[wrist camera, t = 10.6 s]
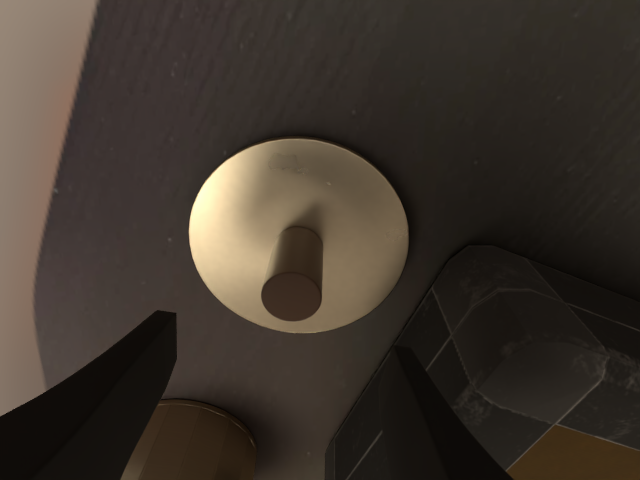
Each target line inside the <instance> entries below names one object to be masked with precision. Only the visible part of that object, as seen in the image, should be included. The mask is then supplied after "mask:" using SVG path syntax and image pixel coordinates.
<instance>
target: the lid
mask: <svg viewBox="0 0 640 480" xmlns="http://www.w3.org/2000/svg"><path fill="white" fill-rule="evenodd" d="M189 244H190V249H191V254H192V258H193V260H194V263H195V266H196V269H197V270H198V272H199V274H200V276H201V278H202V280H203V281H204V283H205V284H206V286H207V287H208V288H209V290H210V291H211V292H212V293H213V294H214V295H215V297H216V298H217V299H218V300H219V301H221V302H222V303H223V304H224V305H225V306H226V307H227V308H229V309H230V310H232V311H233V312H234V313H236V314H237V315H239V316H241V317H243V318H244V319H246V320H248V321H250V322H253V323H255V324H257V325H260V326H263V327H266V328H269V329H273V330H278V331H283V332H291V333H315V332H323V331H328V330H333V329H336V328H339V327H342V326H345V325H348V324H350V323H352V322H355V321H357V320H359V319H360V318H362V317H364V316H365V315H367V314H369V313H370V312H371V311H372V310H374V309H375V308H376V307H378V306H379V305H380V304H381V303H382V302H383V301H384V300H385V299H386V298H387V297H388V295H389V294H390V293H391V291H392V290H393V289H394V287H395V286H396V284H397V282H398V280H399V279H400V277H401V275H402V272H403V269H404V267H405V264H406V260H407V256H408V249H409V228H408V223H407V218H406V214H405V211H404V208H403V206H402V203H401V201H400V198H399V196H398V195H397V193H396V191H395V189H394V187H393V186H392V184H391V183H390V182H389V180H388V179H387V178H386V177H385V175H384V174H383V173H382V172H381V171H380V170H379V169H378V168H377V167H376V166H375V165H374V164H373V163H371V162H370V161H369V160H367V159H366V158H365V157H363V156H362V155H360V154H359V153H357V152H355V151H353V150H351V149H349V148H348V147H345V146H343V145H340V144H338V143H335V142H332V141H329V140H324V139H320V138H316V137H306V136H283V137H277V138H271V139H266V140H263V141H260V142H257V143H253V144H251V145H249V146H247V147H245V148H243V149H240V150H239V151H237V152H236V153H234V154H233V155H231V156H229V157H228V158H227V159H225V160H224V161H223V162H222V163H221V164H220V165H219V166H218V167H216V169H215V170H214V171H213V172H212V173H211V174H210V176H209V177H208V178H207V179H206V180H205V182H204V184H203V185H202V187H201V188H200V190H199V192H198V194H197V196H196V199H195V201H194V203H193V206H192V210H191V214H190V220H189Z"/></svg>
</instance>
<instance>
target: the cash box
mask: <svg viewBox="0 0 640 480" xmlns="http://www.w3.org/2000/svg"><path fill="white" fill-rule="evenodd" d="M394 345H399V346H406V347H411V348H412V350H413V351H414V353H415V354H416V356H417V358H418V359H419V361H420V362H421V364H422V365H423V367H424V368H425V370H426V372H427V373H428V375H429V376H430V378H431V379H432V381H433V382H434V384H435V385H436V387H437V388H438V390H439V391H440V393H441V394H442V395H443V397H444V398H445V400H446V401H447V403H448V404H449V405H450V407H451V408H452V409H453V411H454V412H455V414H456V415H457V416H458V417H459V419H460V420H461V421H462V423H463V424H464V425H465V426H466V428H467V429H468V430H469V431H470V433H471V434H472V435H473V436H474V437H475V439H476V440H477V441H478V442H479V443H480V444H481V445H482V446H483V448H484V449H485V450H486V451H487V452H488V453H489V454H490V455H491V457H492V458H493V459H494V460H495V461H496V462H497V463H498V464H499V465H500V466H501V467H502V468H503V469H504V470H505V471H506V472H507V473H508V474H509V475H510V476H511V477H512V478H513V479H514V480H640V302H638V301H635V300H633V299H630V298H627V297H625V296H622V295H620V294H617V293H615V292H612V291H609V290H607V289H604V288H602V287H599V286H596V285H594V284H591V283H589V282H586V281H584V280H581V279H578V278H576V277H573V276H571V275H568V274H566V273H563V272H560V271H558V270H555V269H553V268H550V267H547V266H545V265H542V264H540V263H537V262H535V261H532V260H529V259H527V258H524V257H522V256H519V255H516V254H514V253H511V252H508V251H506V250H503V249H501V248H498V247H496V246H493V245H468V246H467V247H465V248H464V249H463V250H461V251H460V252H459V253H457V254H456V255H455V256H453V257H452V258H451V259H449V260H448V262H447V263H446V265H445V266H444V268H443V270H442V271H441V273H440V274H439V276H438V277H437V279H436V280H435V282H434V284H433V285H432V286H431V288H430V289H429V291H428V293H427V294H426V296H425V297H424V299H423V300H422V302H421V303H420V305H419V307H418V308H417V310H416V311H415V313H414V314H413V316H412V317H411V319H410V320H409V322H408V324H407V325H406V327H405V328H404V330H403V331H402V333H401V334H400V336H399V338H398V339H397V341H396V342H395V344H394ZM391 349H392V348H391ZM390 352H391V350H390V351H389V353H388V355H387V356H386V358H385V359H384V361H383V362H382V364H381V365H380V367H379V369H378V370H377V372H376V373H375V375H374V376H373V378H372V379H371V381H370V382H369V384H368V386H367V387H366V389H365V390H364V392H363V393H362V395H361V396H360V398H359V400H358V401H357V403H356V404H355V406H354V407H353V409H352V410H351V412H350V414H349V415H348V417H347V418H346V420H345V421H344V423H343V424H342V426H341V427H340V429H339V431H338V432H337V434H336V435H335V437H334V439H333V440H332V442H331V443H330V445H329V446H328V448H327V450H326V453H325V480H390V476H389V470H388V464H387V458H386V452H385V446H384V440H383V434H382V428H381V422H380V411H379V384H380V381H381V378H382V376H383V373H384V370H385V367H386V364H387V361H388V358H389V355H390Z"/></svg>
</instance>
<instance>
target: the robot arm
mask: <svg viewBox="0 0 640 480" xmlns="http://www.w3.org/2000/svg"><path fill="white" fill-rule="evenodd" d="M176 360H177V329H176V313H173V312H166V311H160V310H157V311H156V312H154V313H153V314H152V315H150V316H149V317H148V318H147V319H146V320H144V321H143V322H142V323H141V324H140V325H138V326H137V327H136V328H135V329H133V330H132V331H131V332H130V333H128V334H127V335H126V336H125V337H124V338H122V339H121V340H120V341H118V342H117V343H116V344H114V345H113V346H112V347H111V348H109V349H108V350H107V351H105V352H104V353H103V354H101V355H100V356H99V357H97V358H96V359H94V360H93V361H92V362H90V363H89V364H87V365H86V366H85V367H83V368H82V369H80V370H79V371H77V372H76V373H74V374H73V375H71V376H70V377H68V378H67V379H65V380H64V381H62V382H61V383H59V384H57V385H56V386H54V387H53V388H51V389H49V390H48V391H46V392H44V393H43V394H41V395H39V396H38V397H36V398H34V399H32V400H30V401H29V402H27V403H25V404H23V405H21V406H19V407H17V408H15V409H13V410H12V411H10V412H8V413H6V414H4V415H2V416H0V480H121V477H122V475H123V472H124V470H125V468H126V466H127V463H128V461H129V459H130V457H131V455H132V453H133V451H134V449H135V447H136V445H137V443H138V441H139V440H140V438H141V436H142V434H143V432H144V430H145V428H146V426H147V424H148V422H149V420H150V418H151V416H152V415H153V413H154V411H155V409H156V407H157V405H158V403H159V401H160V399H161V397H162V395H163V393H164V391H165V389H166V387H167V384H168V381H169V379H170V376H171V374H172V371H173V368H174V365H175V363H176ZM379 411H380V422H381V428H382V434H383V440H384V446H385V452H386V458H387V464H388V470H389V476H390V480H514V479H513V478H512V477H511V476H510V475H509V474H508V473H507V472H506V471H505V470H504V469H503V468H502V467H501V466H500V465H499V464H498V463H497V462H496V461H495V460H494V459H493V458H492V457H491V455H490V454H489V453H488V452H487V451H486V450H485V449H484V448H483V446H482V445H481V444H480V443H479V442H478V441H477V440H476V439H475V437H474V436H473V435H472V434H471V433H470V431H469V430H468V429H467V428H466V426H465V425H464V424H463V423H462V421H461V420H460V419H459V417H458V416H457V415H456V414H455V412H454V411H453V409H452V408H451V407H450V405H449V404H448V403H447V401H446V400H445V398H444V397H443V395H442V394H441V393H440V391H439V390H438V388H437V387H436V385H435V384H434V382H433V381H432V379H431V378H430V376H429V375H428V373H427V372H426V370H425V368H424V367H423V365H422V364H421V362H420V361H419V359H418V358H417V356H416V354H415V353H414V351H413V350H412V348H411V347H406V346H399V345H393V346H392V349H391V352H390V355H389V358H388V361H387V364H386V367H385V370H384V373H383V376H382V378H381V381H380V384H379Z"/></svg>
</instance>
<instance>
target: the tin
mask: <svg viewBox="0 0 640 480" xmlns="http://www.w3.org/2000/svg"><path fill="white" fill-rule="evenodd" d="M256 458H257V447H256V443H255V440H254V438H253V436H252V434H251V432H250V431H249V430H248V429H247V427H246V426H245V425H244V424H243V423H241V422H240V421H239V420H238V419H237V418H235V417H234V416H232V415H231V414H229V413H227V412H225V411H223V410H221V409H219V408H217V407H214V406H211V405H209V404H205V403H201V402H197V401H191V400H181V399H168V400H160V401H159V403H158V405H157V407H156V409H155V411H154V413H153V415H152V416H151V418H150V420H149V422H148V424H147V426H146V428H145V430H144V432H143V434H142V436H141V438H140V440H139V441H138V443H137V445H136V447H135V449H134V451H133V453H132V455H131V457H130V459H129V461H128V463H127V466H126V468H125V470H124V472H123V475H122V477H121V480H253V476H254V471H255V464H256Z"/></svg>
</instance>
